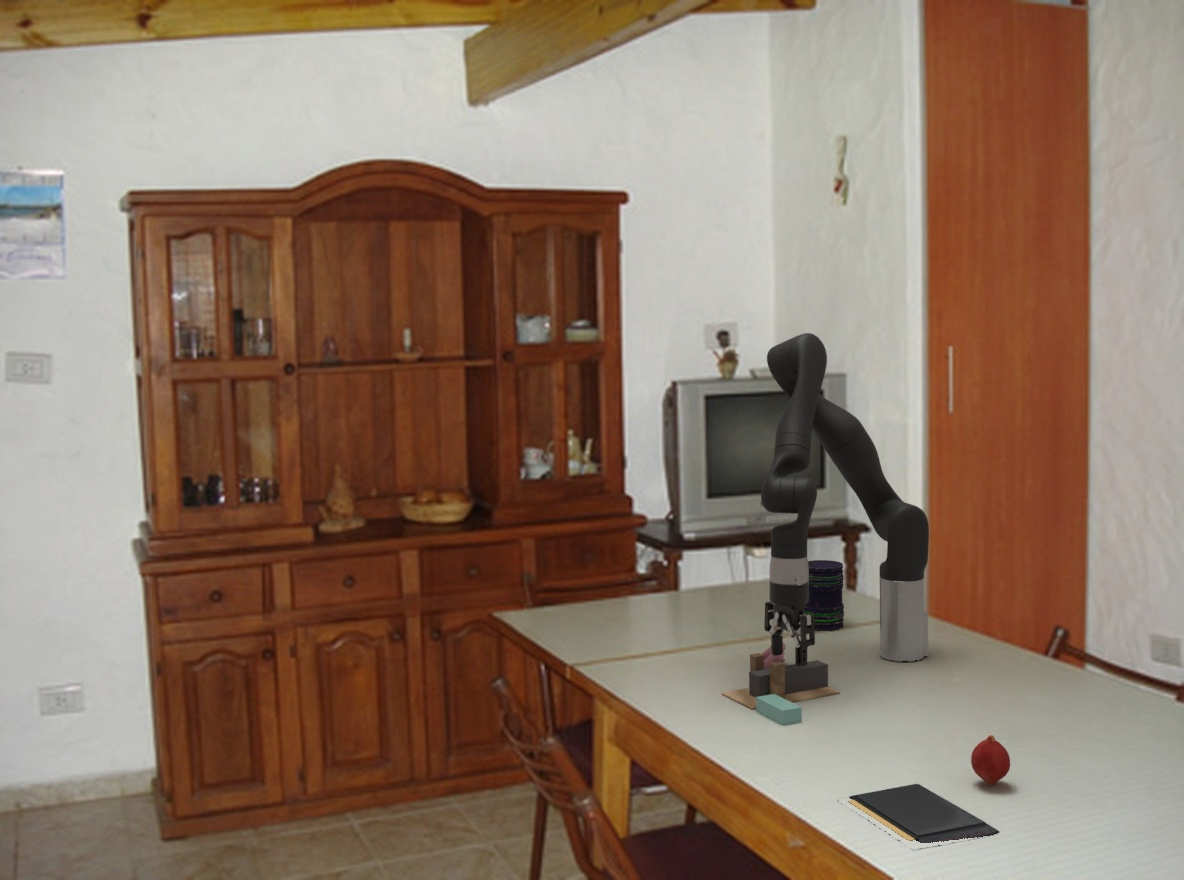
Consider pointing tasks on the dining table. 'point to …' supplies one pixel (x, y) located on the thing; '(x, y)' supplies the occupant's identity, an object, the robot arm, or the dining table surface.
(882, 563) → the robot arm
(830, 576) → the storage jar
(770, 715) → the block
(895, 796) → the black book
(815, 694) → the board
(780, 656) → the video game controller
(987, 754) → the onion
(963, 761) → the dining table surface
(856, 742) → the dining table surface
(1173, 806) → the dining table surface
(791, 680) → the bar
